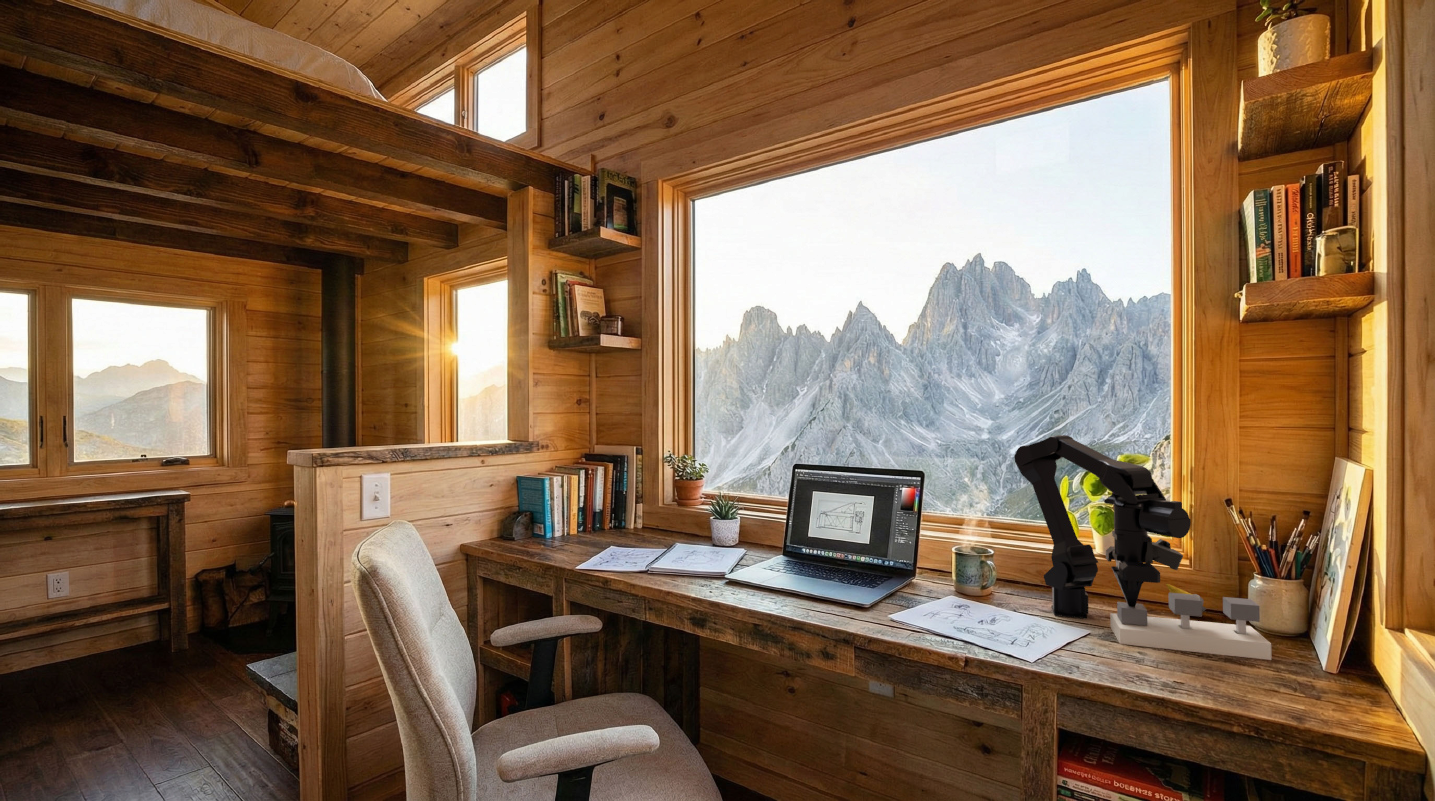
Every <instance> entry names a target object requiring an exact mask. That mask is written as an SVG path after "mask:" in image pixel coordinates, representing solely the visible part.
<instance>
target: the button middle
mask: <svg viewBox="0 0 1435 801" xmlns="http://www.w3.org/2000/svg"><path fill="white" fill-rule="evenodd" d="M1168 608H1169V609H1170V611H1171V612H1172V613H1173V614H1174V615H1179V616H1180V619H1181V627H1182V628H1189V629H1190V618H1191V617H1201V618H1202V615H1203V612H1202V601H1201V600H1200V599H1199V598H1198V597H1197V596H1196V595H1192V593H1191V594H1180V593H1171V592H1168ZM1190 616H1191V617H1190Z"/></svg>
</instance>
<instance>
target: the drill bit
mask: <svg viewBox="0 0 1435 801" xmlns="http://www.w3.org/2000/svg"><path fill="white" fill-rule="evenodd" d="M1165 585H1166V587H1167V589H1168V591H1169V593H1180V594H1192V593H1190V592H1188V591H1185V590H1184V589H1181V588H1178V587H1176V586H1174V585H1171V584H1169V583H1165ZM1192 595H1196V596H1197V597H1198V598H1199V599H1200V600H1201V601H1202V613H1204V612H1205V611H1206V610H1207V608H1206V607H1205V606H1204V603H1205V602H1204V599H1203V597H1201V596H1200V595H1199V594H1196V593H1193V594H1192ZM1202 616H1204V615H1203V614H1202Z"/></svg>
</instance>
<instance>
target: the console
mask: <svg viewBox="0 0 1435 801" xmlns="http://www.w3.org/2000/svg"><path fill="white" fill-rule="evenodd" d="M1109 614H1110V617H1109V618H1110V629H1111V630H1112V632H1113V634H1114V635H1115V637H1116V639H1117V641H1118V643H1119V644H1120V645H1128V646H1129V645H1130V646H1136V647H1137V646H1138V647H1148V648H1156V649H1158V648H1159V649H1166V650H1176V651H1184V652H1193V653H1201V654H1211V655H1220V656H1221V655H1222V656H1231V657H1239V658H1240V657H1241V658H1247V659H1248V658H1249V659H1259V660H1269V661H1272V643H1271V642H1270V641H1269V640H1268V639H1266V638H1265V637H1264V636H1263V635H1262V634H1261V633H1259V632H1258V631H1257V630H1256V629H1254V628H1253V627H1252V626H1251V625H1246V634H1241V633H1238V632H1236V624H1233V623H1232V624H1231V623H1224V622H1223V623H1221V622H1211V621H1200V620H1199V621H1198V620H1190V629H1189V628H1182V627H1181V618H1179V619H1178V618H1170V617H1169V618H1168V617H1157V616H1148V615H1147V625H1137V624H1126V623H1121V621H1120V620H1119V618H1118V616H1117V613H1113V612H1110V613H1109Z"/></svg>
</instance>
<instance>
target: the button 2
mask: <svg viewBox="0 0 1435 801" xmlns="http://www.w3.org/2000/svg"><path fill="white" fill-rule="evenodd" d="M1222 612H1223V614H1224V615H1225V616H1226V617H1228V618H1229V619H1230V620H1234V621H1235V625H1236V632H1238V633H1241V634H1246V626H1247V622H1254V623H1255V622H1256V623H1257V622H1258V623H1260V621H1261V620H1260V605H1259V604H1258V603H1256V602H1255V601H1253V599H1251V598H1241V597H1229V596H1227V597H1226V596H1222Z"/></svg>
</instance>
